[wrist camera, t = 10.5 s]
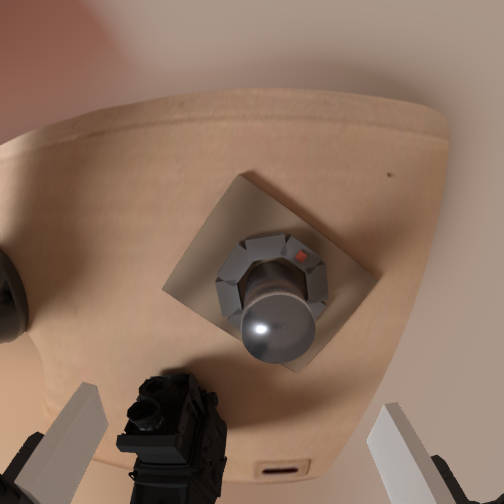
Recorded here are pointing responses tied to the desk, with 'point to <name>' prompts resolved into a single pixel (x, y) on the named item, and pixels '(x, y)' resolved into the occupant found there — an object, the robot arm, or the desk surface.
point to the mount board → (263, 250)
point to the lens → (275, 315)
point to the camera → (175, 442)
